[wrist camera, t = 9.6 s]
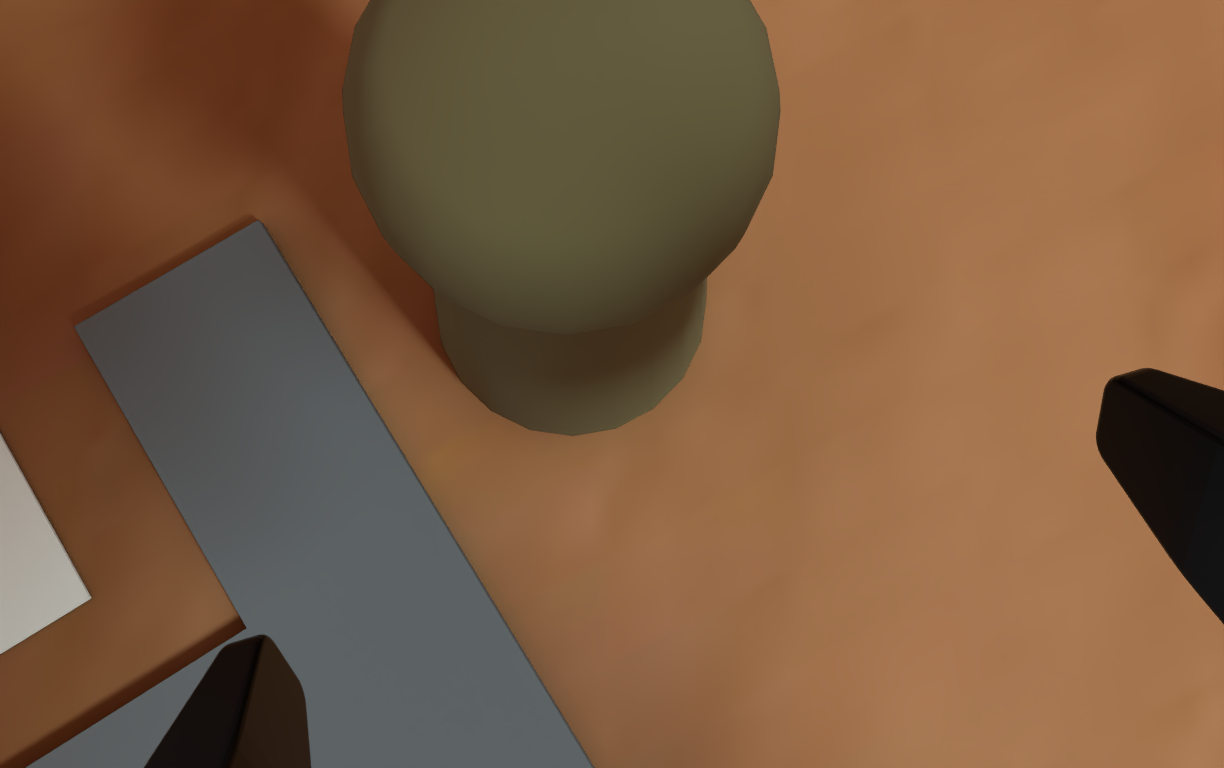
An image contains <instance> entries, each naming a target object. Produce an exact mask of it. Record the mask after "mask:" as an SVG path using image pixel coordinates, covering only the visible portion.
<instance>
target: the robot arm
mask: <svg viewBox="0 0 1224 768" xmlns="http://www.w3.org/2000/svg"><path fill="white" fill-rule="evenodd" d="M1096 442H1097V447H1098V450H1099V452H1100V455H1101V457H1102V458H1103V460H1104V462H1105V463H1106V464H1107V466H1108V467H1109V469H1110V470H1111V472H1112V473H1113V475H1114V476H1115V478H1116V479H1117V481H1118V482H1119V484H1120V485H1121V487H1122V488H1123V489H1124V491H1125V492H1126V494H1127V495H1128V497H1129V498H1130V500H1131V501H1132V503H1133V504H1134V506H1135V507H1136V509H1137V510H1138V512H1139V513H1140V514H1141V516H1142V517H1143V519H1144V520H1145V522H1146V523H1147V525H1148V526H1149V528H1150V529H1151V531H1152V532H1153V534H1154V535H1155V537H1156V538H1157V539H1158V541H1159V542H1160V544H1161V545H1162V547H1163V548H1164V550H1165V551H1166V553H1167V554H1168V556H1169V557H1170V558H1171V560H1172V561H1173V562H1174V564H1175V565H1176V567H1177V568H1178V569H1179V571H1180V572H1181V573H1182V575H1183V576H1184V577H1185V578H1186V580H1187V581H1188V582H1189V583H1190V584H1191V586H1192V587H1193V588H1194V589H1195V591H1196V592H1197V593H1198V594H1199V596H1200V597H1201V598H1202V599H1203V600H1204V601H1205V603H1206V604H1207V605H1208V606H1209V607H1210V609H1211V610H1212V611H1213V612H1214V613H1215V614H1216V616H1217V617H1218V618H1219V619H1220V620H1221V622H1222V623H1223V624H1224V391H1223V390H1220V389H1217V388H1214V387H1211V386H1207V385H1204V384H1201V383H1198V382H1195V381H1191V380H1188V379H1185V378H1182V377H1179V376H1175V375H1172V374H1169V373H1166V372H1163V371H1160V370H1156V369H1152V368H1143V369H1138V370H1135V371H1132V372H1128V373H1125V374H1122V375H1118V376H1115V377H1113V378H1111V379H1110V380H1109V381H1108V383H1107V384H1106V385H1105V388H1104V393H1103V398H1102V404H1101V409H1100V415H1099V420H1098V426H1097V431H1096ZM143 768H311V756H310V744H309V732H308V720H307V708H306V700H305V695H304V691H303V688H302V685H301V683H300V681H299V679H298V677H297V676H296V674H295V673H294V671H293V670H292V668H291V667H290V665H289V664H288V662H287V661H286V659H285V658H284V656H283V655H282V653H281V652H280V650H279V648H278V647H277V645H276V644H275V642H274V641H273V640H272V639H271V638H270V637H269V636H267V635H264V634H261V635H260V634H259V635H255V636H252V637H249V638H246V639H242V640H239V641H236V642H232V643H229V644H227V645H226V646H224V647H223V648H222V649H221V650H220V651H219V653H218V654H217V655H216V657H215V659H214V660H213V662H212V663H211V665H210V666H209V668H208V669H207V671H206V672H205V674H204V675H203V677H202V678H201V680H200V682H199V683H198V685H197V686H196V688H195V689H194V691H193V692H192V694H191V695H190V697H189V698H188V700H187V701H186V703H185V705H184V706H183V708H182V709H181V711H180V712H179V714H178V715H177V717H176V718H175V720H174V721H173V723H172V724H171V726H170V728H169V729H168V731H167V732H166V734H165V735H164V737H163V738H162V740H161V741H160V743H159V744H158V746H157V747H156V749H155V751H154V752H153V754H152V755H151V757H150V758H149V760H148V761H147V763H146V764H145V766H144V767H143Z"/></svg>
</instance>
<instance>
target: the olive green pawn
mask: <svg viewBox="0 0 1224 768" xmlns="http://www.w3.org/2000/svg"><path fill="white" fill-rule="evenodd" d="M342 94H343V114H344V122H345V129H346V136H347V143H348V150H349V157H350V164H351V171H352V177H353V179H354V181H355V183H356V185H357V187H358V189H359V191H360V193H361V195H362V197H363V199H364V200H365V202H366V204H367V206H368V208H369V210H370V212H371V214H372V216H373V218H374V220H375V222H376V224H377V226H378V228H379V230H380V232H381V234H382V236H383V237H384V238H385V240H386V241H387V242H388V244H389V245H390V246H391V248H392V249H393V250H394V251H395V252H396V253H397V254H398V255H399V256H400V257H401V258H402V259H403V260H404V261H405V262H406V263H407V264H408V265H409V266H410V267H411V268H412V269H413V270H414V271H415V272H416V273H417V274H418V275H419V276H420V277H421V278H422V279H424V280H425V281H426V282H427V283H428V284H429V285H430V286H431V287H432V288H433V289H434V298H435V305H436V312H437V318H438V325H439V331H440V338H441V344H442V346H443V348H444V349H445V351H446V353H447V355H448V357H449V359H450V361H451V363H452V365H453V367H454V369H455V371H456V373H457V375H458V377H459V379H460V381H461V382H462V383H463V384H464V385H465V386H466V387H467V388H468V389H470V390H471V391H472V392H473V393H474V394H475V395H476V396H477V397H478V398H479V399H480V400H481V401H482V402H483V403H484V404H485V405H486V406H487V407H488V408H489V409H490V410H491V411H493V412H495V413H497V414H499V415H501V416H503V417H505V418H507V419H509V420H511V421H513V422H515V423H517V424H519V425H521V426H523V427H525V428H527V429H529V430H535V431H542V432H549V433H556V434H563V435H570V436H575V435H581V434H587V433H592V432H598V431H604V430H610V429H616V428H617V427H619V426H621V425H623V424H625V423H627V422H629V421H631V420H633V419H635V418H636V417H638V416H640V415H642V414H644V413H646V412H648V411H650V410H652V409H653V408H654V407H655V406H656V405H657V404H658V403H659V402H660V401H661V400H662V399H663V398H664V397H665V396H666V395H667V394H668V393H669V392H670V391H671V390H672V389H673V388H674V387H675V386H676V385H677V384H678V383H679V382H680V381H681V379H682V378H683V377H684V375H685V373H686V370H687V368H688V366H689V364H690V362H691V360H692V358H693V356H694V354H695V352H696V350H697V348H698V346H699V343H700V341H701V336H702V328H703V320H704V312H705V305H706V290H707V277H708V276H709V275H710V274H711V273H712V272H713V271H714V270H715V269H716V268H717V266H718V265H719V264H720V263H721V262H722V261H723V260H724V259H725V258H726V257H727V256H728V255H729V254H730V253H731V252H732V251H733V250H734V249H735V248H736V246H737V245H738V243H739V242H740V240H741V239H742V237H743V235H744V234H745V232H746V230H747V228H748V225H749V223H750V221H751V219H752V217H753V215H754V213H755V211H756V209H757V207H758V205H759V203H760V201H761V199H762V196H763V194H764V192H765V190H766V188H767V186H768V184H769V182H770V180H771V178H772V176H773V169H774V160H775V152H776V144H777V135H778V127H779V119H780V93H779V86H778V81H777V77H776V72H775V67H774V63H773V58H772V53H771V49H770V44H769V39H768V35H767V30H766V27H765V25H764V23H763V22H762V20H761V18H760V17H759V15H758V13H757V12H756V10H755V8H754V6H753V5H752V3H751V1H750V0H370V2H369V3H368V5H367V7H366V8H365V10H364V12H363V14H362V15H361V17H360V19H359V21H358V22H357V24H356V26H355V29H354V34H353V39H352V44H351V49H350V54H349V59H348V64H347V69H346V74H345V79H344V84H343V89H342Z"/></svg>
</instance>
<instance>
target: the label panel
mask: <svg viewBox="0 0 1224 768" xmlns="http://www.w3.org/2000/svg"><path fill="white" fill-rule="evenodd" d="M74 328H75V329H76V331H77V333H78V335H79V336H80V338H81V340H82V342H83V343H84V345H85V347H86V349H87V350H88V352H89V354H90V356H91V357H92V359H93V361H94V363H95V364H96V366H97V368H98V370H99V371H100V373H101V375H102V377H103V378H104V380H105V382H106V384H107V385H108V387H109V389H110V391H111V392H112V394H113V396H114V398H115V399H116V401H117V403H118V405H119V406H120V408H121V410H122V411H123V413H124V415H125V417H126V418H127V420H128V422H129V424H130V425H131V427H132V429H133V431H134V432H135V434H136V436H137V438H138V439H139V441H140V443H141V445H142V446H143V448H144V450H145V452H146V453H147V455H148V457H149V459H150V460H151V462H152V464H153V466H154V467H155V469H156V471H157V473H158V474H159V476H160V478H161V480H162V481H163V483H164V485H165V487H166V488H167V490H168V492H169V493H170V495H171V497H172V499H173V500H174V502H175V504H176V506H177V507H178V509H179V511H180V513H181V514H182V516H183V518H184V520H185V521H186V523H187V525H188V527H189V528H190V530H191V532H192V534H193V535H194V537H195V539H196V541H197V542H198V544H199V546H200V548H201V549H202V551H203V553H204V555H205V556H206V558H207V560H208V562H209V563H210V565H211V567H212V569H213V570H214V572H215V574H216V576H217V577H218V579H219V581H220V582H221V584H222V586H223V588H224V589H225V591H226V593H227V595H228V596H229V598H230V600H231V602H232V603H233V605H234V607H235V609H236V610H237V612H238V614H239V616H240V617H241V619H242V621H243V623H244V624H245V626H246V629H245V630H243V631H242V632H240V633H238V634H237V635H235V636H234V637H232V638H230V639H229V640H227V641H226V642H224V643H223V644H221V645H219V646H218V647H216V648H215V649H213V650H211V651H210V652H208V653H207V654H205V655H203V656H202V657H200V658H199V659H197V660H196V661H194V662H192V663H191V664H189V665H188V666H186V667H184V668H183V669H181V670H180V671H178V672H177V673H175V674H173V675H172V676H170V677H169V678H167V679H165V680H164V681H162V682H161V683H159V684H157V685H156V686H154V687H153V688H151V689H150V690H148V691H146V692H145V693H143V694H142V695H140V696H138V697H137V698H135V699H134V700H132V701H131V702H129V703H127V704H126V705H124V706H123V707H121V708H119V709H118V710H116V711H115V712H113V713H111V714H110V715H108V716H107V717H105V718H104V719H102V720H100V721H99V722H97V723H96V724H94V725H92V726H91V727H89V728H88V729H86V730H84V731H83V732H81V733H80V734H78V735H77V736H75V737H73V738H72V739H70V740H69V741H67V742H65V743H64V744H62V745H61V746H59V747H58V748H56V749H54V750H53V751H51V752H50V753H48V754H46V755H45V756H43V757H42V758H40V759H38V760H37V761H35V762H34V763H32V764H31V765H29V766H27V767H26V768H143V767H144V766H145V764H146V763H147V761H148V760H149V758H150V757H151V755H152V754H153V752H154V751H155V749H156V747H157V746H158V744H159V743H160V741H161V740H162V738H163V737H164V735H165V734H166V732H167V731H168V729H169V728H170V726H171V724H172V723H173V721H174V720H175V718H176V717H177V715H178V714H179V712H180V711H181V709H182V708H183V706H184V705H185V703H186V701H187V700H188V698H189V697H190V695H191V694H192V692H193V691H194V689H195V688H196V686H197V685H198V683H199V682H200V680H201V678H202V677H203V675H204V674H205V672H206V671H207V669H208V668H209V666H210V665H211V663H212V662H213V660H214V659H215V657H216V655H217V654H218V653H219V651H220V650H221V649H222V648H223V647H224V646H226V645H227V644H229V643H232V642H236V641H239V640H242V639H246V638H249V637H252V636H255V635H259V634H260V635H261V634H264V635H267V636H269V637H270V638H271V639H272V640H273V641H274V642H275V644H276V645H277V647H278V648H279V650H280V652H281V653H282V655H283V656H284V658H285V659H286V661H287V662H288V664H289V665H290V667H291V668H292V670H293V671H294V673H295V674H296V676H297V677H298V679H299V681H300V683H301V685H302V688H303V691H304V695H305V700H306V708H307V720H308V732H309V744H310V756H311V768H594V766H593V765H592V763H591V761H590V760H589V758H588V756H587V755H586V753H585V751H584V750H583V748H582V747H581V745H580V743H579V742H578V740H577V738H576V737H575V735H574V733H573V732H572V730H571V728H570V727H569V725H568V724H567V722H566V720H565V719H564V717H563V715H562V714H561V712H560V710H559V709H558V707H557V705H556V704H555V702H554V701H553V699H552V697H551V696H550V694H549V692H548V691H547V689H546V687H545V686H544V684H543V682H542V681H541V679H540V678H539V676H538V674H537V673H536V671H535V669H534V668H533V666H532V664H531V663H530V661H529V659H528V658H527V656H526V655H525V653H524V651H523V650H522V648H521V646H520V645H519V643H518V641H517V640H516V638H515V636H514V635H513V633H512V632H511V630H510V628H509V627H508V625H507V623H506V622H505V620H504V618H503V617H502V615H501V613H500V612H499V610H498V609H497V607H496V605H495V604H494V602H493V600H492V599H491V597H490V595H489V594H488V592H487V590H486V589H485V587H484V586H483V584H482V582H481V581H480V579H479V577H478V576H477V574H476V572H475V571H474V569H473V567H472V566H471V564H470V563H469V561H468V559H467V558H466V556H465V554H464V553H463V551H462V549H461V548H460V546H459V544H458V543H457V541H456V540H455V538H454V536H453V535H452V533H451V531H450V530H449V528H448V526H447V525H446V523H445V521H444V520H443V518H442V517H441V515H440V513H439V512H438V510H437V508H436V507H435V505H434V503H433V502H432V500H431V498H430V497H429V495H428V494H427V492H426V490H425V489H424V487H423V485H422V484H421V482H420V480H419V479H418V477H417V475H416V474H415V472H414V471H413V469H412V467H411V466H410V464H409V462H408V461H407V459H406V457H405V456H404V454H403V452H402V451H401V449H400V448H399V446H398V444H397V443H396V441H395V439H394V438H393V436H392V434H391V433H390V431H389V429H388V428H387V426H386V425H385V423H384V421H383V420H382V418H381V416H380V415H379V413H378V411H377V410H376V408H375V407H374V405H373V403H372V402H371V400H370V398H369V397H368V395H367V393H366V392H365V390H364V388H363V387H362V385H361V384H360V382H359V380H358V379H357V377H356V375H355V374H354V372H353V370H352V369H351V367H350V365H349V364H348V362H347V361H346V359H345V357H344V356H343V354H342V352H341V351H340V349H339V347H338V346H337V344H336V342H335V341H334V339H333V338H332V336H331V334H330V333H329V331H328V329H327V328H326V326H325V324H324V323H323V321H322V319H321V318H320V316H319V315H318V313H317V311H316V310H315V308H314V306H313V305H312V303H311V301H310V300H309V298H308V296H307V295H306V293H305V292H304V290H303V288H302V287H301V285H300V283H299V282H298V280H297V278H296V277H295V275H294V273H293V272H292V270H291V269H290V267H289V265H288V264H287V262H286V260H285V259H284V257H283V255H282V254H281V252H280V250H279V249H278V247H277V246H276V244H275V242H274V241H273V239H272V237H271V236H270V234H269V232H268V231H267V229H266V227H265V226H264V224H263V223H262V222H261V221H260V220H257V221H256V222H254V223H252V224H250V225H249V226H247V227H245V228H244V229H242V230H240V231H238V232H237V233H235V234H233V235H231V236H230V237H228V238H226V239H224V240H223V241H221V242H219V243H218V244H216V245H214V246H212V247H211V248H209V249H207V250H205V251H204V252H202V253H200V254H198V255H197V256H195V257H193V258H192V259H190V260H188V261H186V262H185V263H183V264H181V265H179V266H178V267H176V268H174V269H173V270H171V271H169V272H167V273H166V274H164V275H162V276H160V277H159V278H157V279H155V280H153V281H152V282H150V283H148V284H147V285H145V286H143V287H141V288H140V289H138V290H136V291H134V292H133V293H131V294H129V295H128V296H126V297H124V298H122V299H121V300H119V301H117V302H115V303H114V304H112V305H110V306H108V307H107V308H105V309H103V310H102V311H100V312H98V313H96V314H95V315H93V316H91V317H89V318H88V319H86V320H84V321H83V322H81V323H79V324H77V325H76V326H74ZM91 598H92V597H91V596H90V594H89V592H88V590H87V588H86V587H85V585H84V583H83V581H82V579H81V578H80V576H79V574H78V572H77V570H76V569H75V567H74V565H73V563H72V561H71V560H70V558H69V556H68V554H67V552H66V551H65V549H64V547H63V545H62V543H61V542H60V540H59V538H58V536H57V534H56V532H55V531H54V529H53V527H52V525H51V523H50V522H49V520H48V518H47V516H46V514H45V513H44V511H43V509H42V507H41V505H40V504H39V502H38V500H37V498H36V496H35V495H34V493H33V491H32V489H31V487H30V486H29V484H28V482H27V480H26V478H25V477H24V475H23V473H22V471H21V469H20V468H19V466H18V464H17V462H16V460H15V459H14V457H13V455H12V453H11V451H10V450H9V448H8V446H7V444H6V442H5V440H4V439H3V437H2V435H1V433H0V654H2V653H3V652H5V651H6V650H8V649H10V648H11V647H13V646H15V645H16V644H18V643H19V642H21V641H23V640H24V639H26V638H28V637H29V636H31V635H32V634H34V633H36V632H37V631H39V630H41V629H42V628H44V627H46V626H47V625H49V624H50V623H52V622H54V621H55V620H57V619H59V618H60V617H62V616H63V615H65V614H67V613H68V612H70V611H72V610H73V609H75V608H76V607H78V606H80V605H81V604H83V603H85V602H86V601H88V600H89V599H91Z"/></svg>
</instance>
